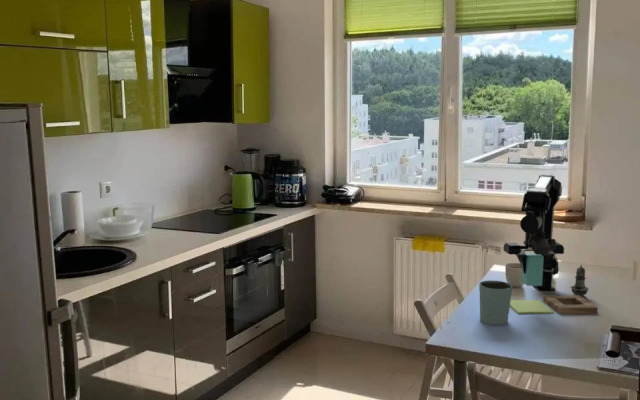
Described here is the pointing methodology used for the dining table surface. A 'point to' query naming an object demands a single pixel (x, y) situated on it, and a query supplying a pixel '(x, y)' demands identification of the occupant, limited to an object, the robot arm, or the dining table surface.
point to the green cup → (494, 302)
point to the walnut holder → (580, 306)
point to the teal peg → (533, 270)
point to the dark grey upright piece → (580, 283)
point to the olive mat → (529, 307)
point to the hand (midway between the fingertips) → (532, 273)
